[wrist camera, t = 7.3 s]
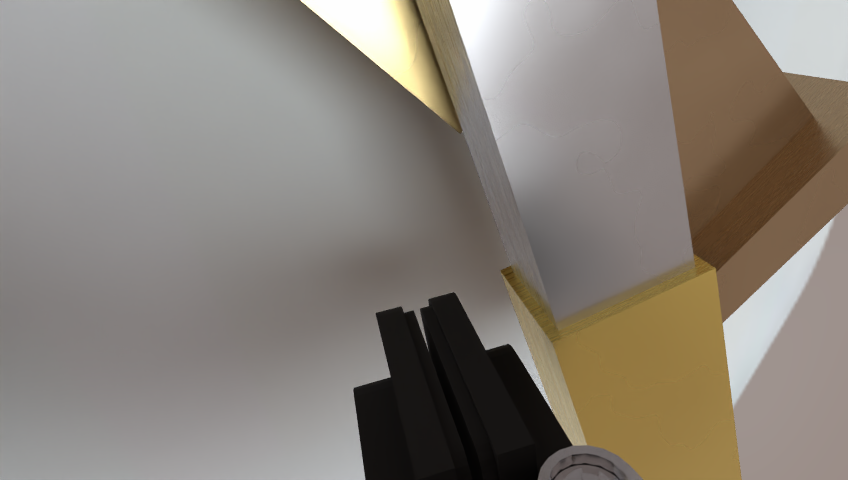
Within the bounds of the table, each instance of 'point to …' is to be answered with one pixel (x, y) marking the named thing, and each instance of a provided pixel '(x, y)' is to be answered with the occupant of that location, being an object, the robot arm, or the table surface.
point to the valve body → (689, 128)
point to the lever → (594, 223)
